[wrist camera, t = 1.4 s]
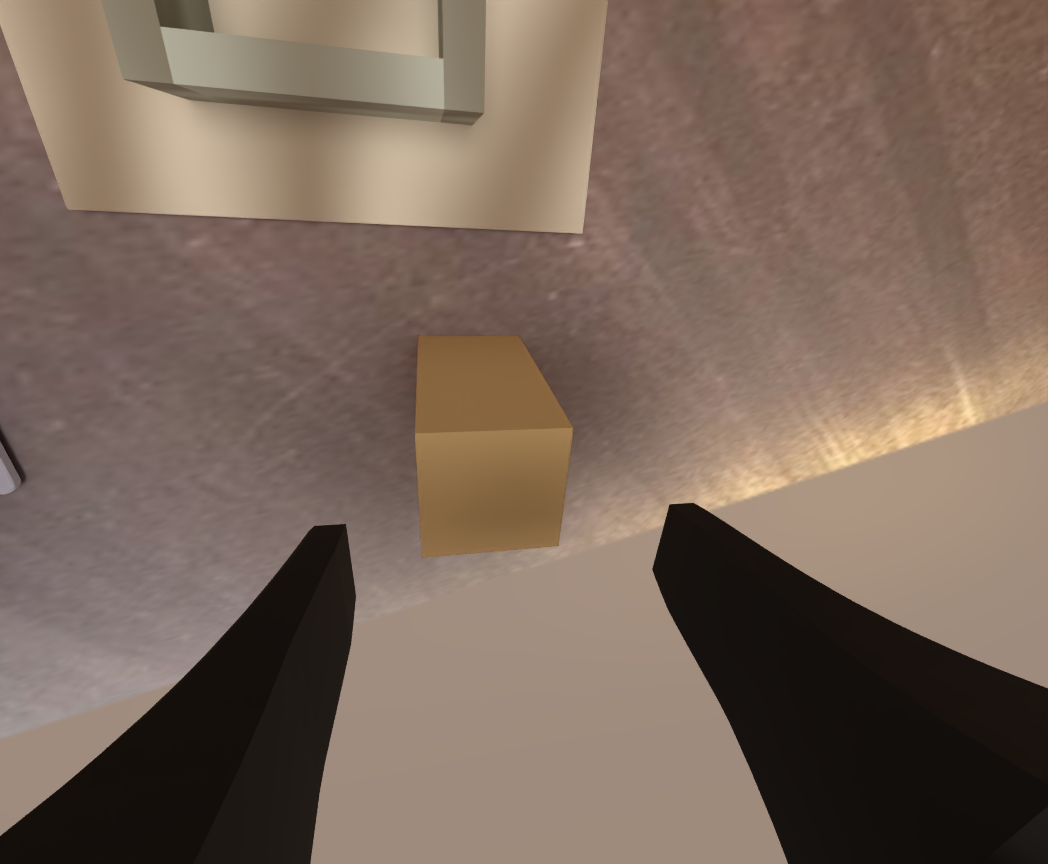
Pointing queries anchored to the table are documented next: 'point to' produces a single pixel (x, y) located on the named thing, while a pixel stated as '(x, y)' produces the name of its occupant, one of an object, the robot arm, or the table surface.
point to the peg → (487, 447)
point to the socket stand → (317, 107)
